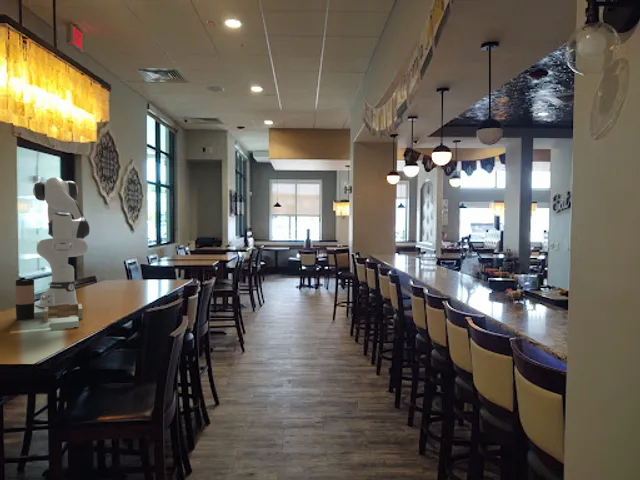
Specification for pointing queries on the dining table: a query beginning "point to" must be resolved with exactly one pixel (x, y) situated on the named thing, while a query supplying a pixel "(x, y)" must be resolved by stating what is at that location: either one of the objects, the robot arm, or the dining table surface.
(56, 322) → the sage stand
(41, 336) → the dining table surface
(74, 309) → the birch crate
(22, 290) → the travel mug
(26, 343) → the dining table surface
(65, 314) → the walnut block
